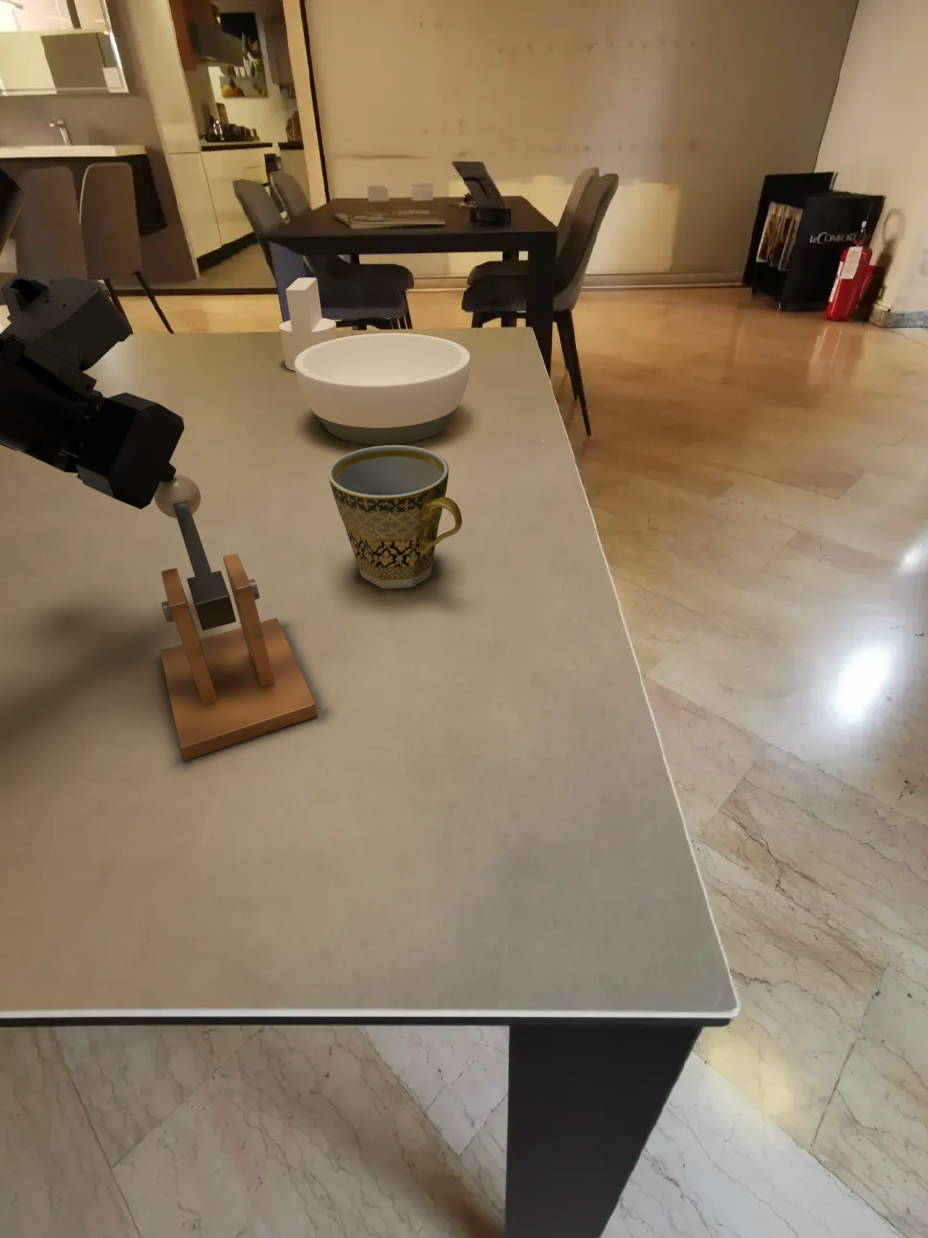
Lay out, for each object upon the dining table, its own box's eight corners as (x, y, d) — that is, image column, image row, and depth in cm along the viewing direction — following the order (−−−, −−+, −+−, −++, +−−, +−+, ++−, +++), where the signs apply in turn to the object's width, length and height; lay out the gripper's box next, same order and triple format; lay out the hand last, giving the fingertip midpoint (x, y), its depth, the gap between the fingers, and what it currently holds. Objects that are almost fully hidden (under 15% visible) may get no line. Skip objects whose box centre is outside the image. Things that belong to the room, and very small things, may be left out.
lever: (157, 507, 54) (145, 471, 52) (200, 498, 55) (191, 462, 53) (195, 639, 44) (182, 601, 42) (246, 624, 45) (237, 587, 43)
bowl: (497, 406, 94) (499, 344, 89) (417, 467, 79) (413, 397, 73) (365, 382, 103) (359, 325, 97) (268, 434, 87) (255, 368, 82)
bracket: (164, 661, 52) (123, 554, 46) (279, 628, 55) (255, 524, 49) (185, 760, 44) (139, 647, 38) (318, 715, 47) (295, 604, 41)
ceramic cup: (320, 571, 61) (303, 471, 55) (398, 530, 67) (391, 435, 61) (420, 630, 55) (414, 522, 48) (497, 578, 60) (501, 476, 54)
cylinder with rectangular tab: (335, 371, 107) (325, 290, 99) (279, 371, 107) (265, 290, 100) (344, 355, 114) (335, 277, 107) (292, 355, 114) (279, 277, 107)
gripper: (99, 251, 33) (299, 404, 47) (-68, 222, 42) (142, 358, 56) (6, 455, 33) (234, 548, 47) (-142, 383, 42) (87, 479, 55)
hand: (171, 474), depth 51 cm, fingers closed
